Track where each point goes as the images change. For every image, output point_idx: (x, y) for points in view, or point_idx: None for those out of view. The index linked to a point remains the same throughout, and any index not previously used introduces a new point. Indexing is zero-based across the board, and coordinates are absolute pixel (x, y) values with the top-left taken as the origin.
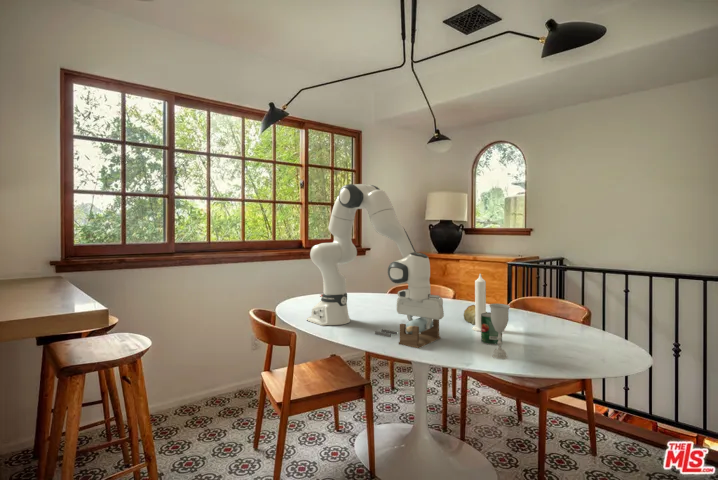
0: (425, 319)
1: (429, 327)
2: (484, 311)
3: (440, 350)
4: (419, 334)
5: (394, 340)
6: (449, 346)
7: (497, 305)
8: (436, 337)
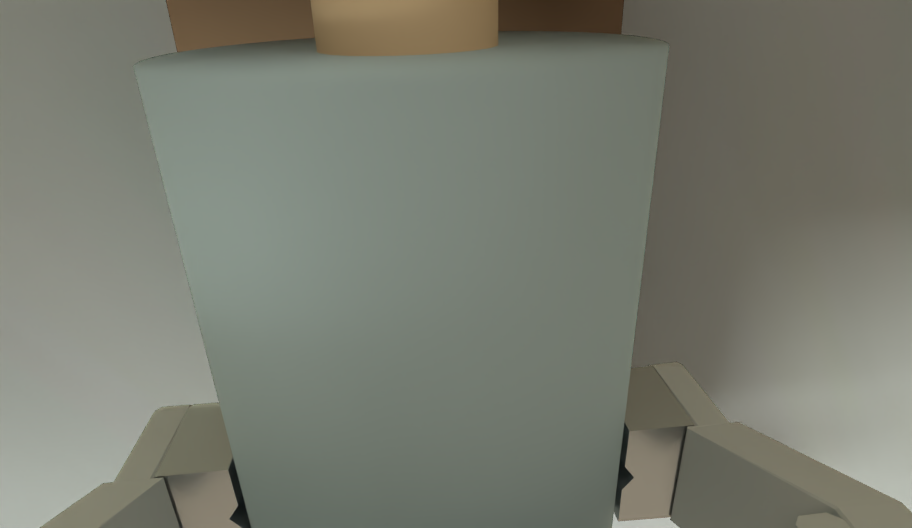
0: (586, 458)
1: (685, 385)
2: None
3: (817, 399)
4: (206, 34)
5: (118, 457)
6: (885, 206)
7: None
8: (599, 4)
